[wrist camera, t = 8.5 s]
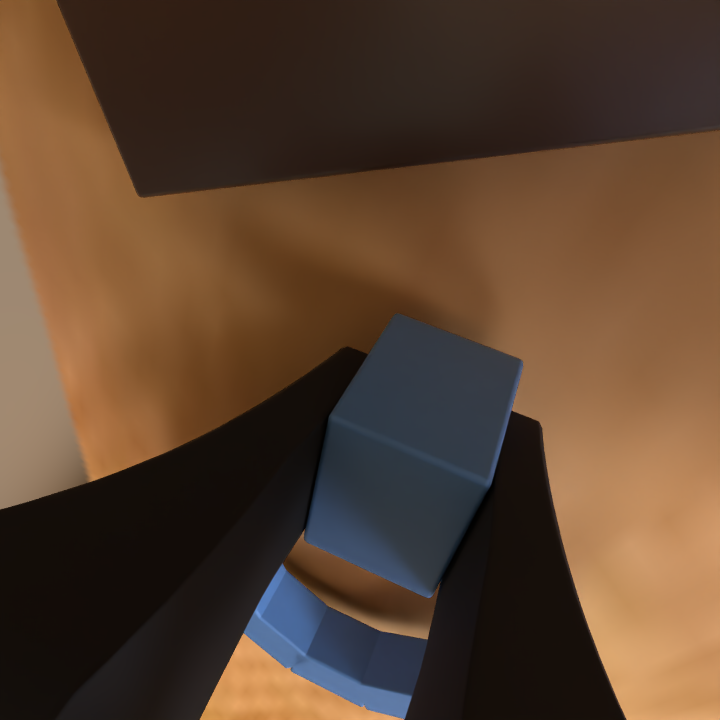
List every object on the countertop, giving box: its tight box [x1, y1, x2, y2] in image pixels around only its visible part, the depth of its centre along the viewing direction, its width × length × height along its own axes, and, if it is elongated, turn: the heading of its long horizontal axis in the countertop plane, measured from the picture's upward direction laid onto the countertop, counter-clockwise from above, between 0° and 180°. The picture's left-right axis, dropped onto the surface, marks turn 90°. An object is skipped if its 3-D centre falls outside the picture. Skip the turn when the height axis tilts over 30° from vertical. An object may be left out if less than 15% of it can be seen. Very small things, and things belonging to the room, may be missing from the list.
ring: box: [244, 313, 523, 719], centre depth 13 cm, size 12×9×3 cm
